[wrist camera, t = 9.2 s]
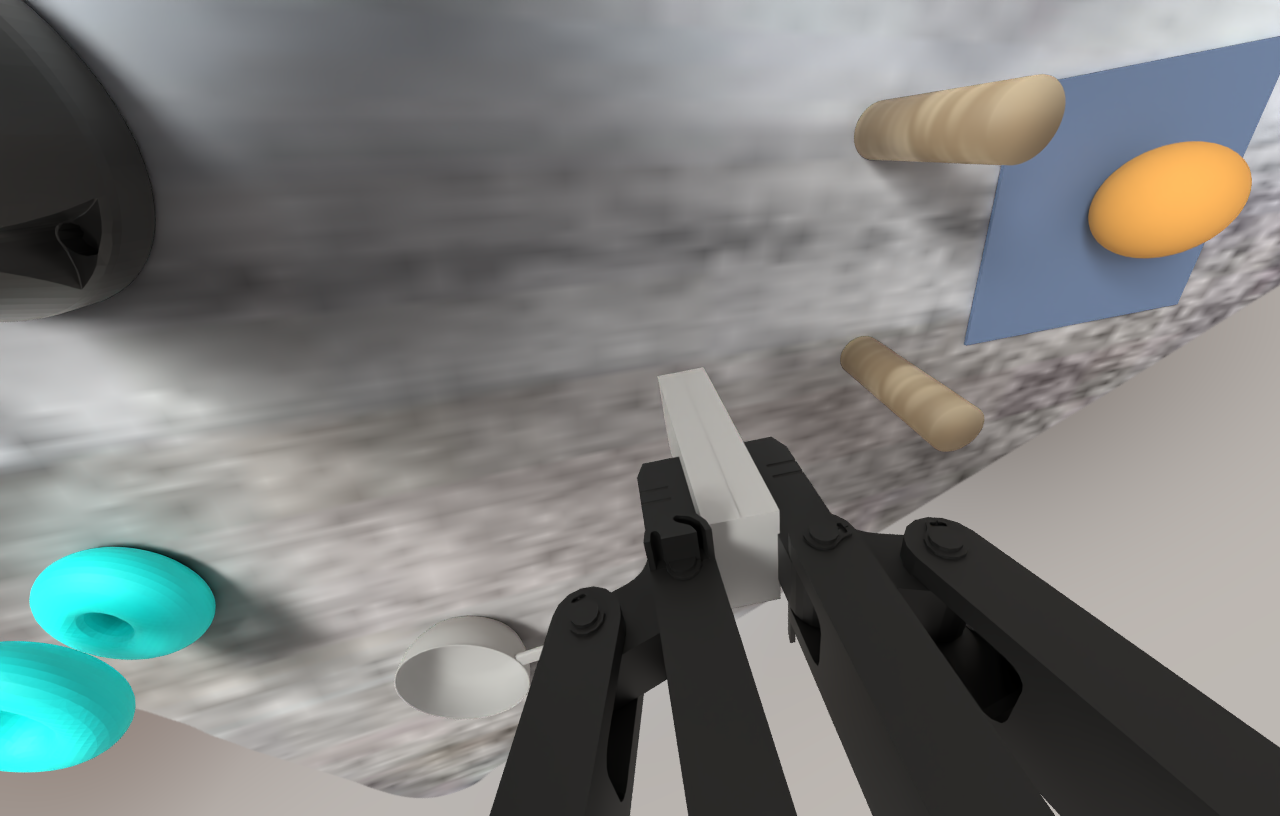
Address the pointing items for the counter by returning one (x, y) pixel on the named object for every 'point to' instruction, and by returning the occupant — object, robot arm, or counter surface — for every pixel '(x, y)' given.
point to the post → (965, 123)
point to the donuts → (92, 652)
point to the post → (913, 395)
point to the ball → (1169, 199)
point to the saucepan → (465, 669)
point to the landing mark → (1080, 163)
